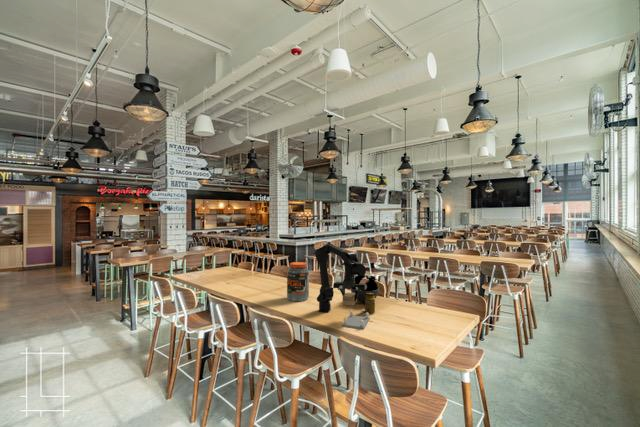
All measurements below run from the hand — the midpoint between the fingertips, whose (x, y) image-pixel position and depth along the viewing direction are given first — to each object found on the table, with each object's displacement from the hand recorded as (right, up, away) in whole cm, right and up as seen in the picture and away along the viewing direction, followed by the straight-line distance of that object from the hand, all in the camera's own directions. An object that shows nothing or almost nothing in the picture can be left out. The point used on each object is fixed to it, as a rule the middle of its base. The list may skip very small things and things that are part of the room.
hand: (350, 300), depth 171 cm
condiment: (+13, -12, +15) cm, 23 cm away
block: (0, -1, 0) cm, 1 cm away
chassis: (+3, -12, -3) cm, 12 cm away
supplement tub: (-33, -12, +44) cm, 56 cm away
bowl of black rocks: (+14, -12, +37) cm, 41 cm away
